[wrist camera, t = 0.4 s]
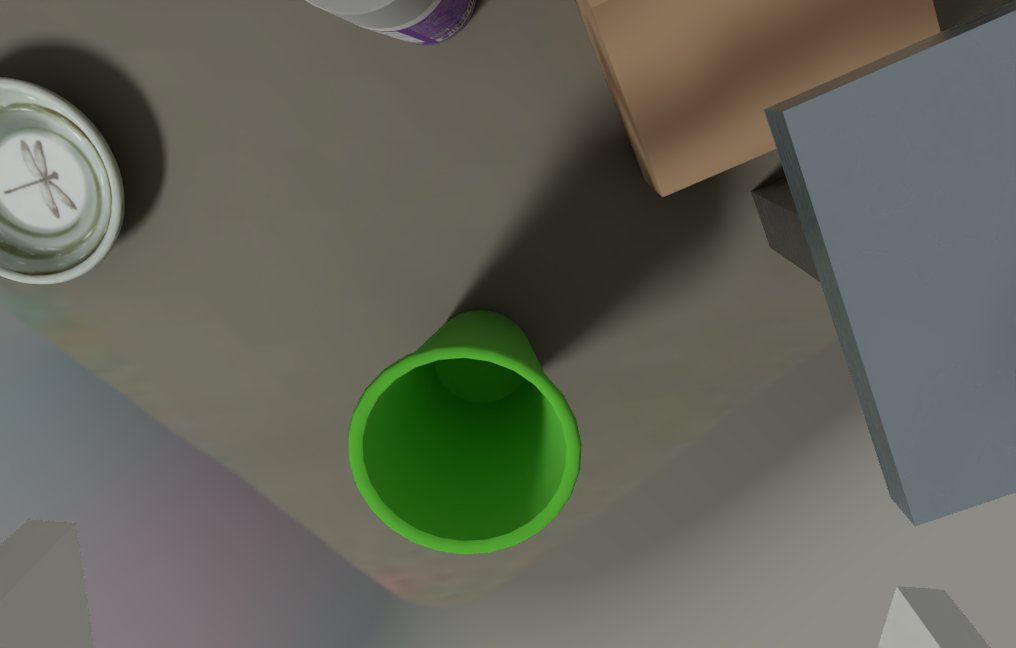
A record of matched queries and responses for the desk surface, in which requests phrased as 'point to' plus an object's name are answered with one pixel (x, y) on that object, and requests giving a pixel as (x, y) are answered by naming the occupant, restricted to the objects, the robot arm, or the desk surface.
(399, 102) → the desk surface
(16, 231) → the saucer
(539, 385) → the cup
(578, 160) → the desk surface
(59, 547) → the robot arm
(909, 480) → the grey flat-topped post
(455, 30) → the container
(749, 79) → the socket block
